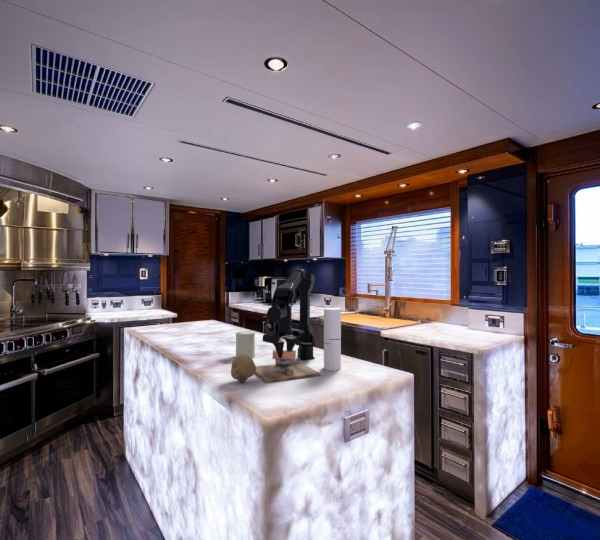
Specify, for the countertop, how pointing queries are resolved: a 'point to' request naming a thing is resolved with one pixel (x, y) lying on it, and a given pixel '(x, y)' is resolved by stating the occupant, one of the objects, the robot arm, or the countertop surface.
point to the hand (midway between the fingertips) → (284, 357)
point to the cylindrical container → (332, 338)
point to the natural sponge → (242, 367)
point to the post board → (284, 372)
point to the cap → (284, 358)
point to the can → (245, 343)
